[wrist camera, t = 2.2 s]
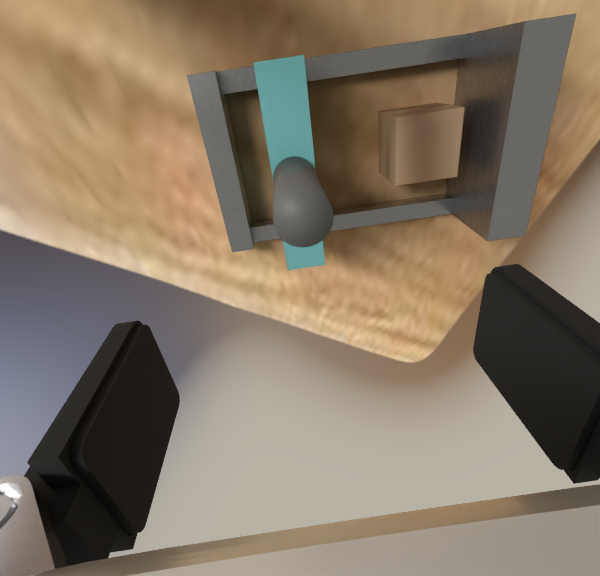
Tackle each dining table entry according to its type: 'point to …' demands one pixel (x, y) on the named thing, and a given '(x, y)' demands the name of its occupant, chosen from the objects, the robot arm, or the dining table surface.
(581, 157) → the dining table surface
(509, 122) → the vise bed
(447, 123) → the walnut block
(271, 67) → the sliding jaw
